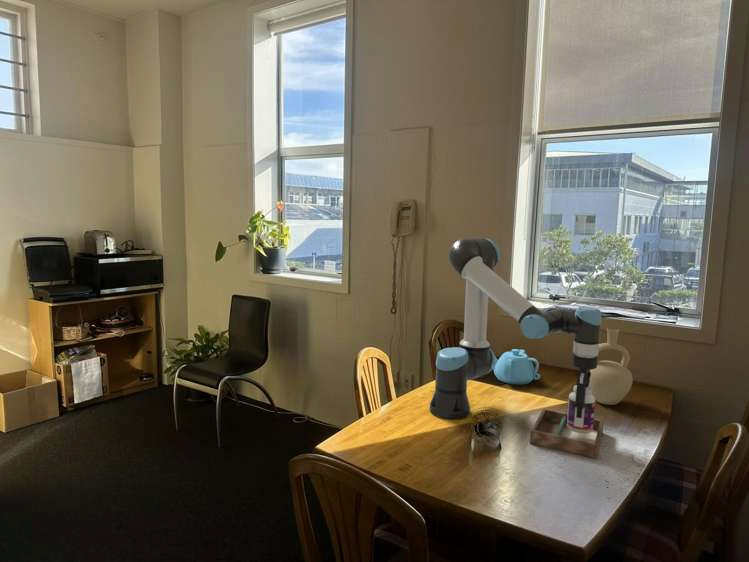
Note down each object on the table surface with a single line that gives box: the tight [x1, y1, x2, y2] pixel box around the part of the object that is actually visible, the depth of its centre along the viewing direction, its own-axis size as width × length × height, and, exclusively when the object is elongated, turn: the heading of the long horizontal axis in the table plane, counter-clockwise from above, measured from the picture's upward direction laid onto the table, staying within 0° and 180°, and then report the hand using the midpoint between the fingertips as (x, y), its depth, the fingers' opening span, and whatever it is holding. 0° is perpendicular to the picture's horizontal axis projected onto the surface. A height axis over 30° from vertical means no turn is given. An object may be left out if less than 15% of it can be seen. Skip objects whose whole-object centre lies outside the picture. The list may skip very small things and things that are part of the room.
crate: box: [529, 408, 605, 460], centre depth 169 cm, size 20×22×4 cm
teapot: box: [492, 348, 541, 385], centre depth 229 cm, size 19×19×14 cm
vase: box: [589, 327, 634, 406], centre depth 202 cm, size 17×17×30 cm
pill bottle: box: [567, 384, 596, 433], centre depth 166 cm, size 8×8×14 cm
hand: (580, 421), depth 167 cm, fingers closed on pill bottle, 8 cm apart
